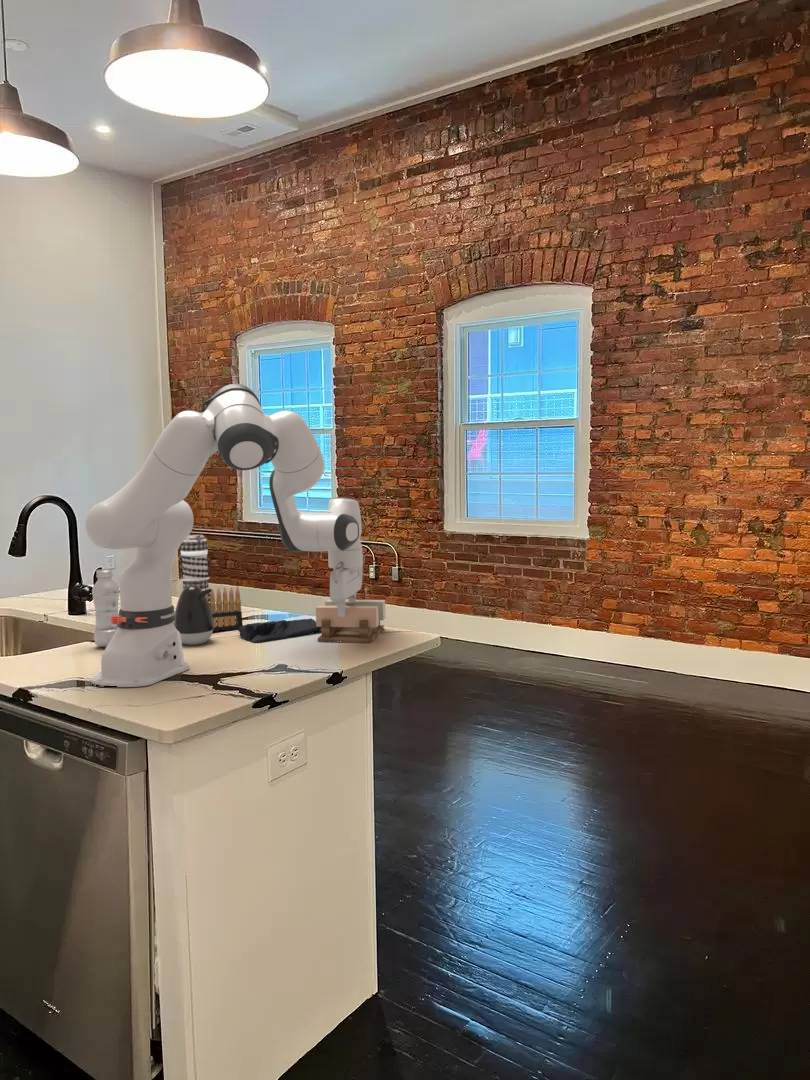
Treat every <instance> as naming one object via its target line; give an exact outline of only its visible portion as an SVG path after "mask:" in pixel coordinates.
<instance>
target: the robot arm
mask: <svg viewBox="0 0 810 1080" xmlns="http://www.w3.org/2000/svg"><path fill="white" fill-rule="evenodd" d="M201 407H202V408H201V412H198V411H196V410H183V411H181V412H179V413H177V414H176V415H175V416H174V417H173V418H172V419H171V420H170V421H169V423H168V424H167V425H166V427H165V428H164V429H163V431H162V432H161V433H160V435H159V437H158V438H157V439H156V441H155V443H154V445H153V447H152V448H151V450H150V452H149V454H148V456H147V458H146V459H145V461H144V463H143V464H142V466H141V467H140V469H139V470H138V472H137V473H136V474H135V475H134V476H133V477H132V478H131V479H130V480H129V481H128V482H127V483H126V484H125V485H124V486H123V487H121V488H120V489H119V490H118V491H117V492H115V493H114V494H113V495H112V496H110V497H108V498H107V499H104V500H102V501H101V502H98V503H96V504H94V505H93V506H92V507H91V508H90V509H89V511H88V513H87V515H86V519H85V531H86V533H87V537H88V538H89V540H90V541H91V542H92V543H93V544H94V545H95V546H96V547H99V548H102V549H111V550H127V549H134V548H135V549H136V552H135V555H134V556H133V559H132V561H131V562H130V563H129V564H128V565H127V566H126V567H124V568H123V570H121V573H120V574H119V578H118V581H119V582H118V583H119V585H118V587H119V600H120V609H118V610H119V611H118V616H117V615H112V616H111V617H112V618H111V619H112V620H111V623H112V624H117V626H118V628H117V631H116V632H115V634H114V636H113V637H112V639H111V641H110V642H109V644H108V646H107V647H105V649H104V650H103V651H102V654H101V659H100V670H101V671H100V672H98V673H97V674H96V675H94V676H93V677H91V678H90V679H89V683H90V682H92V683H95V684H100V685H109V686H117V687H116V688H136V687H147V686H150V685H153V684H156V683H158V682H161V681H163V680H165V679H168V678H170V677H173V676H175V675H178V674H180V673H183V672H185V671H187V670H190V664H189V663H188V662H185V658H184V651H183V643H182V642H181V635H180V632H179V631H178V630H177V629H176V627H175V625H174V621H175V606H174V604H173V602H172V601H173V600H172V599H173V598H172V596H173V595H172V571H173V566H174V562H175V559H176V555H177V553H178V551H179V548H181V543H182V542H183V541H184V539H185V538H186V537H187V536H188V535H191V532H192V530H193V527H194V524H195V523H194V518H195V517H194V513H193V510H192V508H191V506H190V505H189V503H188V502H186V501H185V500H184V499H186V498H187V496H188V495H189V494H190V492H191V490H192V488H193V486H194V484H195V483H196V481H197V480H198V478H199V477H200V475H201V473H202V472H203V470H204V468H205V466H206V464H207V462H208V460H209V459H210V457H212V456H213V455H214V454H215V453H216V452H218V453H219V455H220V456H221V459H222V460H223V462H224V463H225V464H226V465H227V466H228V467H230V468H231V469H233V470H236V471H249V470H254V469H257V468H260V467H262V466H264V465H265V464H268V463H270V462H271V464H272V466H273V468H274V469H273V470H272V471H271V473H270V476H269V482H268V483H269V491H270V496H271V500H272V502H273V503H272V504H273V508H274V511H275V515H276V518H277V521H278V524H279V525H278V526H279V534H280V540H281V542H282V544H283V545H284V547H285V548H287V550H288V551H290V552H291V553H304V552H305V553H306V552H327V555H328V556H327V557H328V559H327V560H328V561H327V562H328V564H327V565H328V567H329V569H333V570H332V571H331V572H330V575H329V600H331V601H336V605H337V608H338V616H339V617H344V616H346V608H345V603H346V600H348V603H347V606H355V601H356V600H357V593H358V592H359V591H360V590H361V588H362V586H363V574H364V571H363V565H364V564H365V560H366V559H365V554H363V545H362V539H361V535H362V532H363V530H362V527H363V526H362V515H361V509H360V505H359V504H360V503H359V502H358V500H356V499H355V498H352V497H333V498H330V499H329V501H328V504H327V505H328V508H327V511H326V512H306V511H301V510H299V509H298V508H297V504H296V500H295V497H294V496H295V495H297V494H302V493H305V492H307V491H309V490H310V489H312V488H313V487H314V486H316V485H317V483H318V482H319V481H320V479H321V478H322V476H323V473H324V470H325V461H324V457H323V454H322V453H323V452H322V451H321V449H320V446H319V444H318V442H317V439H316V437H315V436H314V434H313V432H312V431H311V428H310V427H309V426H308V424H307V423H306V421H305V420H304V419H303V418H302V416H301V415H300V414H298V413H297V412H295V411H292V410H280V411H277V412H275V413H273V414H264V411H263V409H262V406H261V402H260V400H259V398H258V396H257V395H256V393H255V392H254V391H253V390H252V389H251V388H250V387H248V386H246V385H244V384H242V383H230V384H228V385H224V386H222V387H221V388H220V389H218V390H217V391H215V393H214V394H213V395H212V397H209V398H208V399H206V400H205V401H204V402H203V403H202V406H201Z"/></svg>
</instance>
